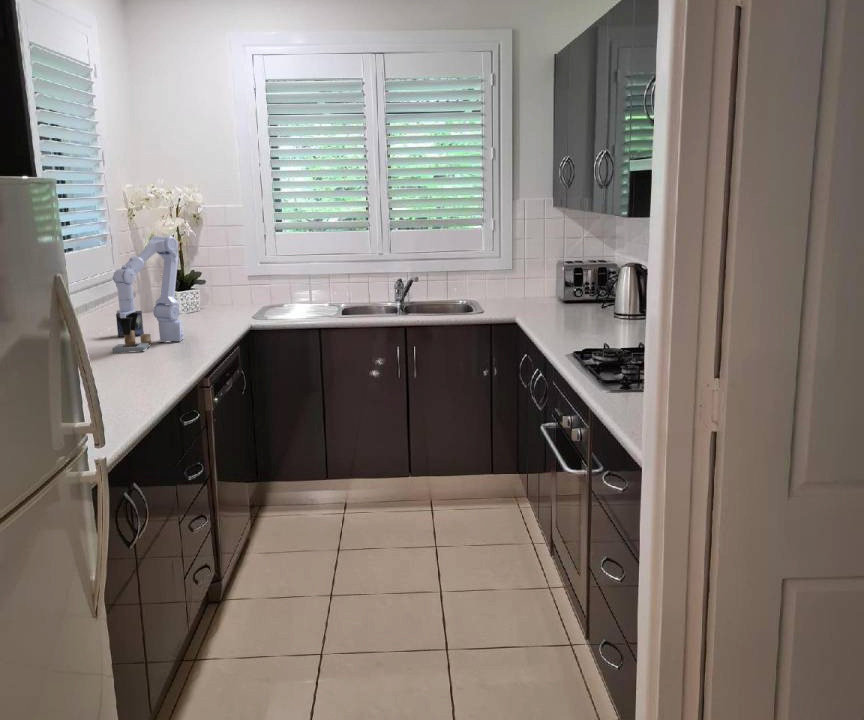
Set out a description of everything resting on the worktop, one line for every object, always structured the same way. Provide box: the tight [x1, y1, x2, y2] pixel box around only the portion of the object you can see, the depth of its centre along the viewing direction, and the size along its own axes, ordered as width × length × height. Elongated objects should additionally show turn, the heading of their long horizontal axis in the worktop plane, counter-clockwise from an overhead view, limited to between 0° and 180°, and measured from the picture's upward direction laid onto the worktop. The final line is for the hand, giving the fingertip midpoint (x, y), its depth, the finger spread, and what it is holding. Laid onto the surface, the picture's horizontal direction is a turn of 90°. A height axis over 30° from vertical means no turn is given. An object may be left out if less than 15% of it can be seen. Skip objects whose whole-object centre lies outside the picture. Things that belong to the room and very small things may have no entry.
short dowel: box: [139, 333, 152, 345], centre depth 339 cm, size 4×4×4 cm
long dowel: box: [123, 330, 137, 347], centre depth 329 cm, size 4×4×8 cm
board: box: [112, 342, 150, 354], centre depth 329 cm, size 12×8×2 cm, turn 95°
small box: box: [115, 310, 145, 338], centre depth 360 cm, size 11×6×10 cm, turn 105°
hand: (129, 332), depth 328 cm, fingers open, 7 cm apart
